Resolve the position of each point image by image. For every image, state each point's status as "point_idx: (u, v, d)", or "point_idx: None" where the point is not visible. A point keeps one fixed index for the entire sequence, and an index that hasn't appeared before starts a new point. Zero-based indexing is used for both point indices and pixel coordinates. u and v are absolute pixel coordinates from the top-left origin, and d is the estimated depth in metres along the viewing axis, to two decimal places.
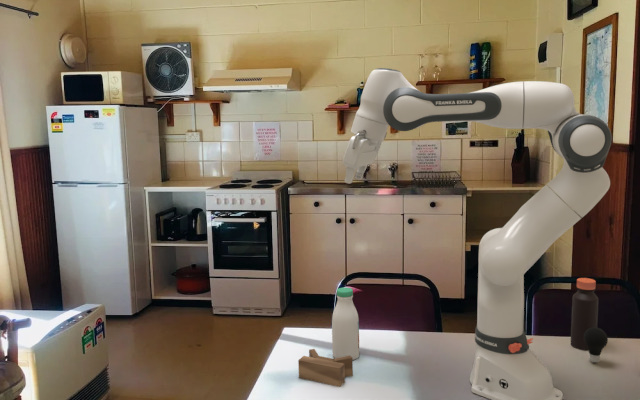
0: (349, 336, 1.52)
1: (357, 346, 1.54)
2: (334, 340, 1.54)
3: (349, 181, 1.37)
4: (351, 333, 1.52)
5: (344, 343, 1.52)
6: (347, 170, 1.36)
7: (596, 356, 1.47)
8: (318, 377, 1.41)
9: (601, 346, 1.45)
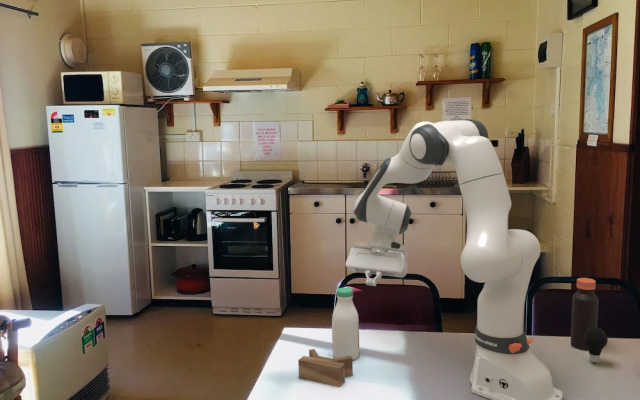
0: (349, 336, 1.52)
1: (357, 346, 1.54)
2: (334, 340, 1.54)
3: None
4: (351, 333, 1.52)
5: (344, 343, 1.52)
6: None
7: (596, 356, 1.47)
8: (318, 377, 1.41)
9: (601, 346, 1.45)
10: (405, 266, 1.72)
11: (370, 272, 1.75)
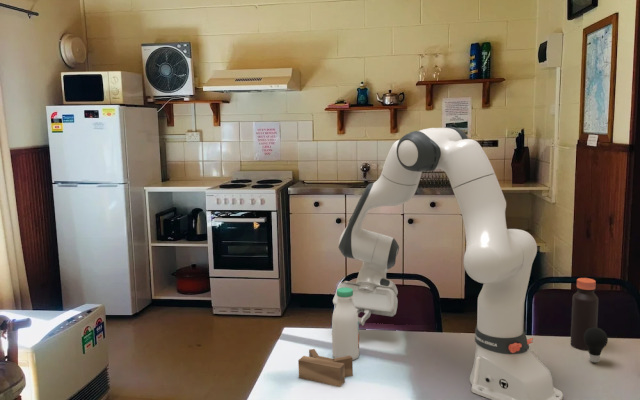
0: (349, 336, 1.52)
1: (357, 346, 1.54)
2: (334, 340, 1.54)
3: None
4: (351, 333, 1.52)
5: (344, 343, 1.52)
6: None
7: (596, 356, 1.47)
8: (318, 377, 1.41)
9: (601, 346, 1.45)
10: (395, 304, 1.64)
11: (358, 310, 1.67)
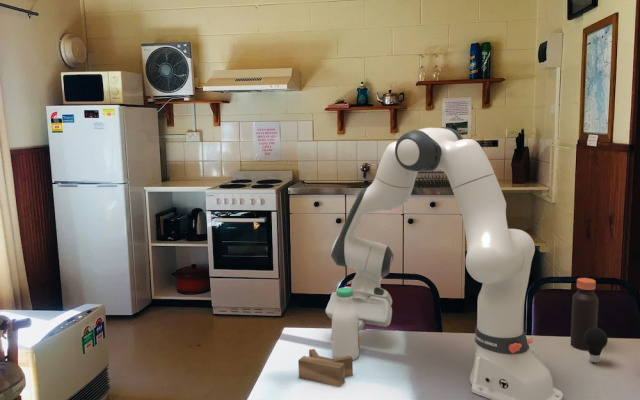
0: (349, 336, 1.52)
1: (357, 346, 1.54)
2: (334, 340, 1.54)
3: None
4: (351, 333, 1.52)
5: (344, 343, 1.52)
6: None
7: (596, 356, 1.47)
8: (318, 377, 1.41)
9: (601, 346, 1.45)
10: (389, 315, 1.59)
11: None
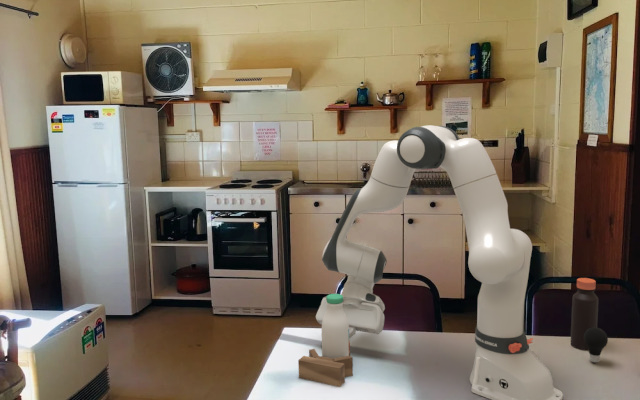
0: (340, 344, 1.47)
1: (348, 355, 1.49)
2: (324, 348, 1.48)
3: None
4: (341, 342, 1.47)
5: (334, 352, 1.47)
6: None
7: (596, 356, 1.47)
8: (318, 377, 1.41)
9: (601, 346, 1.45)
10: (381, 322, 1.53)
11: None
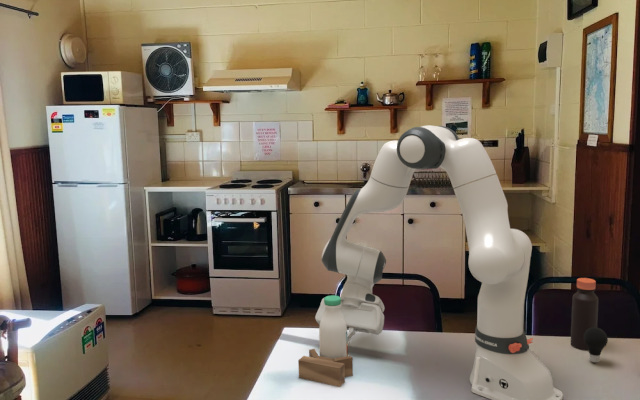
0: (337, 346, 1.45)
1: None
2: (321, 351, 1.47)
3: None
4: (339, 344, 1.45)
5: (332, 354, 1.45)
6: None
7: (596, 356, 1.47)
8: (318, 377, 1.41)
9: (601, 346, 1.45)
10: (381, 322, 1.53)
11: None
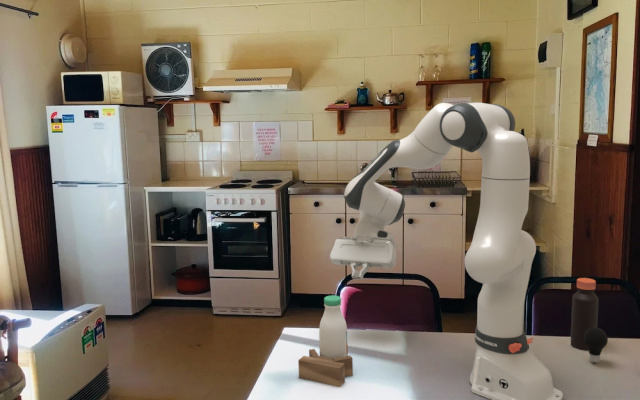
0: (337, 346, 1.45)
1: None
2: (321, 351, 1.47)
3: None
4: (339, 344, 1.45)
5: (332, 354, 1.45)
6: None
7: (596, 356, 1.47)
8: (318, 377, 1.41)
9: (601, 346, 1.45)
10: (393, 256, 1.58)
11: (356, 264, 1.62)
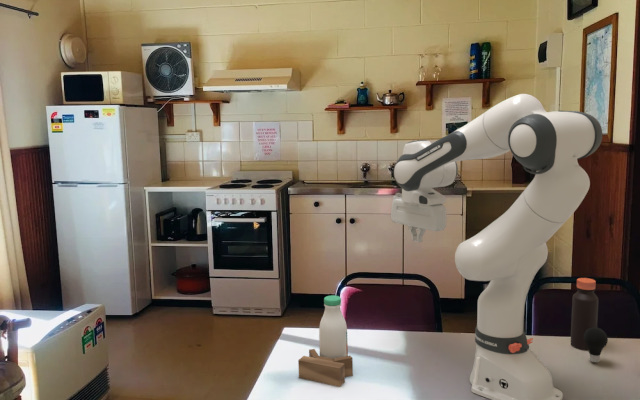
0: (337, 346, 1.45)
1: None
2: (321, 351, 1.47)
3: None
4: (339, 344, 1.45)
5: (332, 354, 1.45)
6: None
7: (596, 356, 1.47)
8: (318, 377, 1.41)
9: (601, 346, 1.45)
10: (440, 221, 1.52)
11: (413, 226, 1.62)
